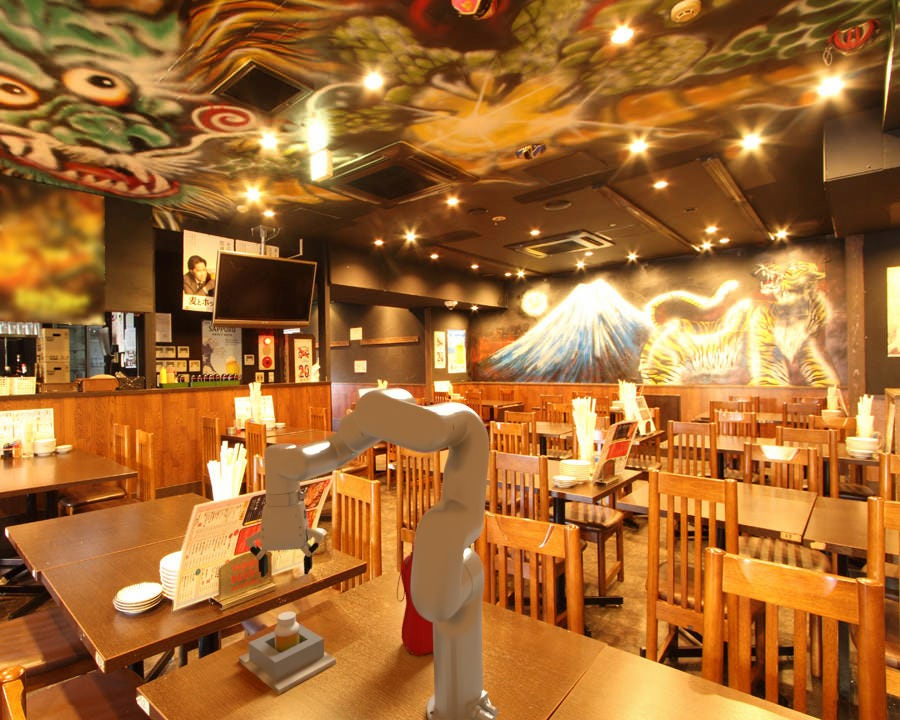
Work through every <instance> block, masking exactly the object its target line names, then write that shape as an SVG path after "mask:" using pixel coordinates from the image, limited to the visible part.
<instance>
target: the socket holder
mask: <svg viewBox="0 0 900 720" xmlns="http://www.w3.org/2000/svg"><path fill="white" fill-rule="evenodd" d="M297 623H298V624H299V644H298V645H296V646H294V647H292V648H290V649H288V650H286V651H283V652H281V653H280V652H278V651H277V650H275V630H274V631H271V632H269V633H267V634H265V635H262V636H260V637H258V638H256V639H254V640H250V641H249V642H248V653H249V660H250V661H251V662H252V663H253V664H255V665H256V666H257V667H258V668H260V669H261V670H262V671H263V672H265V673H266V674H267V675H269V676H270V677H271V678H272V679H274V680H275V681H278V680H280V679H282V678H284V677H285V676H287V675H289V674H291V673H293V672H295V671H297V670H299V669H301V668H303V667H304V666H306V665H308V664H310V663H312V662H314V661H316V660H318V659H320V658H321V657H323V656H324V652H325V638H324V637H322V636H320V635H319V634H317V633H315V632H313V631H312V630H310V629H309V628H307V627H305V626H304V625H303V624H300V623H299V622H297Z"/></svg>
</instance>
